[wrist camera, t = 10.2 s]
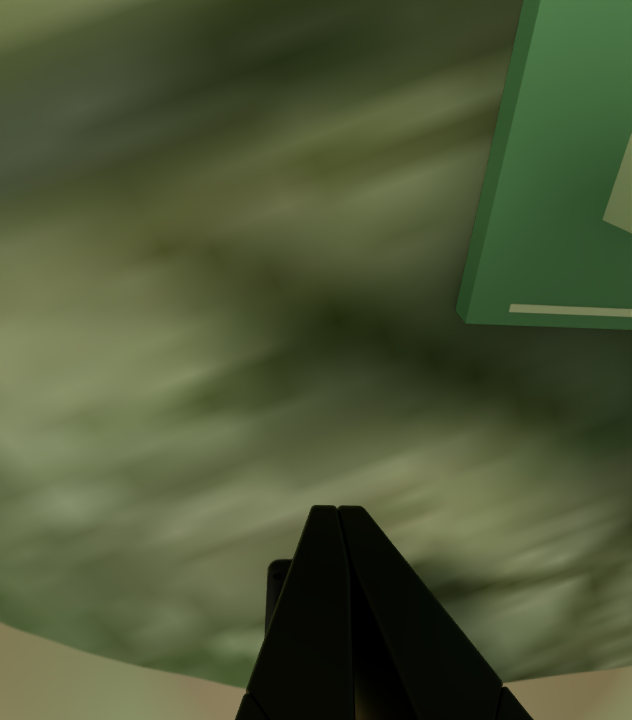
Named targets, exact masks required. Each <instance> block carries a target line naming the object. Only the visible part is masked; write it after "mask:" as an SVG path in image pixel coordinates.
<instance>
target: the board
mask: <svg viewBox="0 0 632 720" xmlns="http://www.w3.org/2000/svg"><path fill="white" fill-rule="evenodd" d="M455 311H456V312H457V313H458V315H459V316H460V317H461V319H462V320H463V321H464V322H465V324H490V325H516V326H543V327H569V328H596V329H623V330H632V0H524V1H523V5H522V10H521V14H520V19H519V23H518V28H517V32H516V37H515V41H514V46H513V51H512V55H511V60H510V64H509V69H508V73H507V78H506V82H505V87H504V91H503V96H502V100H501V105H500V110H499V114H498V119H497V123H496V128H495V132H494V137H493V141H492V146H491V150H490V155H489V159H488V164H487V169H486V173H485V178H484V182H483V187H482V191H481V196H480V200H479V205H478V209H477V214H476V218H475V223H474V228H473V232H472V237H471V241H470V246H469V250H468V255H467V259H466V264H465V268H464V273H463V277H462V282H461V287H460V291H459V296H458V300H457V305H456V309H455Z"/></svg>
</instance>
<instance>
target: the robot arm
mask: <svg viewBox="0 0 632 720" xmlns="http://www.w3.org/2000/svg"><path fill="white" fill-rule="evenodd" d="M502 686H503V682H502V680H501V679H500V678H499V677H498V675H497V674H496V673H495V672H494V670H493V669H492V668H491V667H490V665H489V664H488V663H487V661H486V660H485V659H484V658H483V656H482V655H481V654H480V653H479V651H478V650H477V649H476V648H475V646H474V645H473V644H472V643H471V641H470V640H469V639H468V638H467V636H466V635H465V634H464V633H463V631H462V630H461V629H460V628H459V626H458V625H457V624H456V623H455V621H454V620H453V619H452V618H451V616H450V615H449V614H448V613H447V611H446V610H445V609H444V608H443V606H442V605H441V604H440V603H439V601H438V600H437V599H436V598H435V596H434V595H433V594H432V593H431V591H430V590H429V589H428V588H427V586H426V585H425V584H424V583H423V581H422V580H421V579H420V578H419V576H418V575H417V574H416V573H415V571H414V570H413V569H412V567H411V566H410V565H409V564H408V562H407V561H406V560H405V559H404V557H403V556H402V555H401V554H400V552H399V551H398V550H397V549H396V547H395V546H394V545H393V544H392V542H391V541H390V540H389V539H388V537H387V536H386V535H385V534H384V532H383V531H382V530H381V529H380V527H379V526H378V525H377V524H376V522H375V521H374V520H373V519H372V517H371V516H370V515H369V514H368V512H367V511H366V510H365V509H364V508H363V507H362V506H345V505H342V506H339V507H338V508H336V507H335V506H333V505H314V506H312V508H311V510H310V512H309V515H308V518H307V521H306V523H305V526H304V529H303V532H302V535H301V537H300V540H299V543H298V546H297V549H296V551H295V554H294V557H293V560H292V562H290V563H274V564H271V565H270V566H269V567H268V573H267V594H266V616H265V638H264V641H263V644H262V646H261V649H260V652H259V655H258V658H257V660H256V663H255V666H254V669H253V672H252V674H251V677H250V680H249V683H248V686H247V688H246V694H245V695H244V696H243V698H242V701H241V704H240V707H239V710H238V713H237V715H236V718H235V720H533V719H532V717H531V716H530V715H529V714H528V713H527V711H526V710H525V709H524V708H523V706H522V705H521V704H520V703H519V702H518V700H517V699H516V698H515V696H514V695H513V694H512V693H511V691H510V690H509V689H508V688H507V687H502Z"/></svg>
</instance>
